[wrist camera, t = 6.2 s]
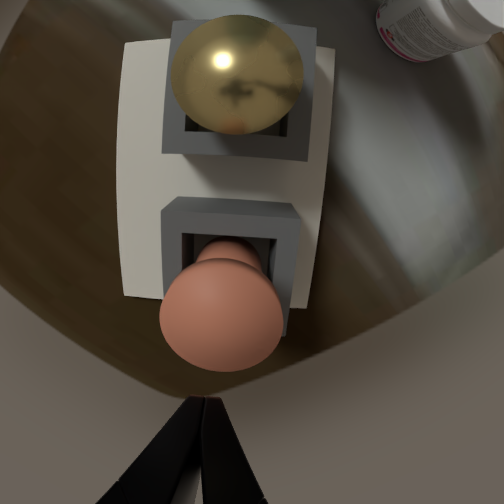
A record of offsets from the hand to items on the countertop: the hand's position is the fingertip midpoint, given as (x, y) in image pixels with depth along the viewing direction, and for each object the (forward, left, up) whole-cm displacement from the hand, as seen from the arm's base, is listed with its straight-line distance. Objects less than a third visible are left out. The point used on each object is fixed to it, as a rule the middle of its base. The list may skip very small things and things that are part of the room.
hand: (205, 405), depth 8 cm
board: (+1, -5, -12) cm, 13 cm away
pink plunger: (0, 0, -9) cm, 10 cm away
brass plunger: (0, -9, -11) cm, 14 cm away
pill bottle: (-10, -16, -12) cm, 22 cm away
